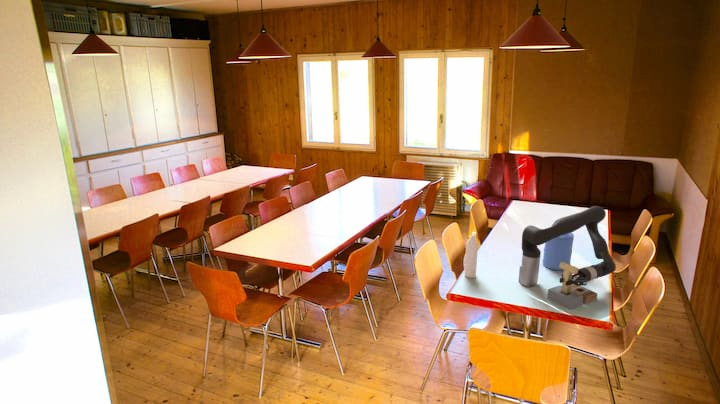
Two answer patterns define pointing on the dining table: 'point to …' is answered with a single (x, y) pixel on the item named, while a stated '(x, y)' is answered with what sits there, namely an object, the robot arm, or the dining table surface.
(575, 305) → the block
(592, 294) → the block
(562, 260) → the water jug
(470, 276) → the water bottle
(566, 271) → the t key
